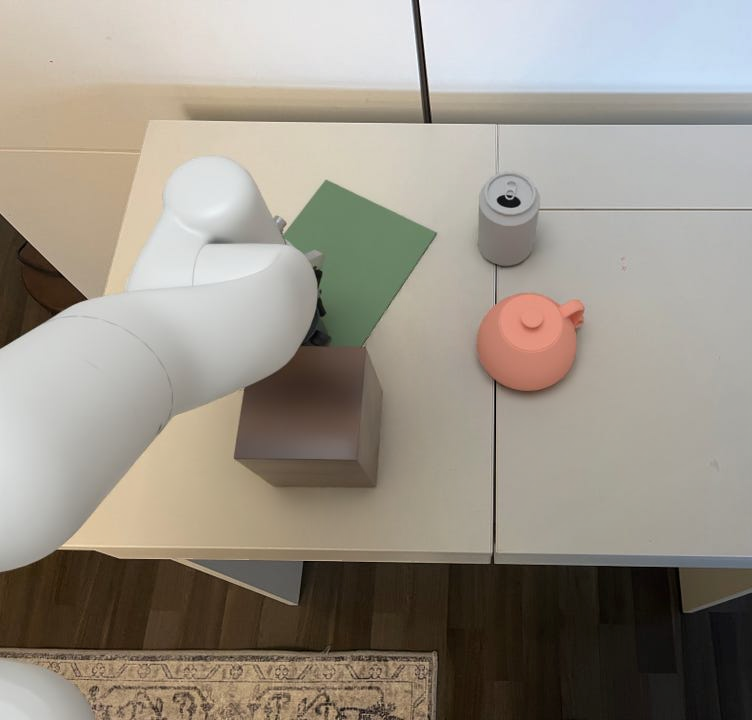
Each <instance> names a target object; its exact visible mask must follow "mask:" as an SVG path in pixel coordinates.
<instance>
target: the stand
mask: <svg viewBox="0 0 752 720" xmlns="http://www.w3.org/2000/svg"><path fill="white" fill-rule="evenodd" d="M383 395H384V392H383V389H382V385H381V383H380V380H379V378H378V375H377V372H376V369H375V367H374V364H373V362H372V359H371V356H370V354H369V351H368V348H367V347H366V346H362V347H328V346H299V348H298V350H297V351H296V353H295V355H294V356H293V357H292V358H291V359H290V361H289V362H288V363H287V364H286V365H284V366H283V367H282V368H281V369H279V370H278V371H276V372H274V373H273V374H271V375H269V376H267V377H265V378H264V379H262V380H260V381H258V382H255V383H253V384H251V385H249V386H246V387H244V388H243V394H242V401H241V405H240V406H241V407H240V412H239V413H240V414H239V418H238V419H239V420H238V427H237V432H236V440H235V446H234V453H233V459H234V461H236V462H237V463H239V464H240V465H241V466H243V467H245V468H246V469H247V470H249V471H251V472H252V473H254V474H255V475H256V476H257V477H259V478H261V480H263V481H264V482H266V483H267V484H269V485H271V486H272V487H275V488H276V487H279V488H348V489H349V488H353V489H354V488H357V489H361V488H363V489H364V488H365V489H372V488H373V489H376V488H377V481H378V466H379V453H380V439H381V438H380V437H381V423H382V407H383Z"/></svg>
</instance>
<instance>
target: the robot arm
mask: <svg viewBox="0 0 752 720" xmlns="http://www.w3.org/2000/svg"><path fill="white" fill-rule="evenodd" d="M161 197H162V198H161V200H162V210H161V212H160V214H159V216H158V218H157V221H156V223H155V224H154V227H153V228H152V231H151V233H150V234H149V236H148V238H147V240H146V242H145V244H144V245H143V246H142V249H141V250H140V252H139V253H138V256H137V258H136V260H135V262H134V264H133V266H132V268H131V271H130V273H129V275H128V276H127V279H126V282H125V285H124V292H118V293H113V294H107V295H103V296H98V297H93V298H90V299H85V300H83V301H80V302H77V303H75V304H73V305H71V306H69V307H67V308H66V309H64V310H62V311H60V312H59V313H57V314H56V315H54V316H53V317H50V318H49V319H48V320H46V321H45V322H43V323H41V324H40V325H38V326H36V327H35V328H33V329H31V330H30V331H28V332H26V333H25V334H23V335H21V336H20V337H17V338H16V339H14V340H13V341H12V342H10V343H8V344H7V345H5V346H3V347H1V348H0V573H2V572H3V573H4V572H7V571H13V570H16V569H19V568H22V567H26V566H29V565H30V564H33V563H35V562H38V561H40V560H42V559H44V558H46V557H47V556H50V555H51V554H52V553H54V552H55V551H56V550H58V549H59V548H61V547H63V546H64V544H66V543H67V542H68V541H69V540H70V539H72V538H73V537H74V535H75V534H76V533H78V531H80V529H81V528H82V527H83V526H84V525H85V523H86V522H87V521H88V520H89V519H90V518H91V516H92V515H93V514H94V512H95V511H96V510H97V509H98V508H99V507H100V505H101V504H102V503H103V502H104V501H105V499H106V498H107V497H108V496H109V495H110V493H111V492H112V491H113V489H115V488H116V486H117V485H119V483H120V481H122V479H123V478H124V477H125V476H126V475H127V473H128V472H130V469H131V468H132V467H133V465H134V464H135V463H136V462H137V461H138V460H139V458H140V457H141V456H142V455H143V454H144V453H145V451H147V449H148V448H149V447H150V446H151V444H152V443H153V442H154V441H155V439H157V437H158V436H159V435H161V433H162V431H164V429H165V428H166V426H167V425H168V424H170V421H171V420H173V418H174V417H175V416H176V417H177V416H178V415H181V414H185V413H187V412H190V411H193V410H196V409H197V408H198V409H199V408H201V407H203V406H205V405H209V404H211V403H213V402H216V401H218V400H220V399H222V398H224V397H226V396H229V395H231V394H233V393H235V392H237V391H240V390H242V389H244V387H246V386H249V385H251V384H253V383H255V382H258V381H260V380H262V379H264V378H265V377H267V376H269V375H271V374H273V373H274V372H276V371H278V370H279V369H281V368H282V367H283V366H284V365H286V364H287V363H288V362H289V361H290V359H291V358H292V357H293V356H294V355H295V353H296V351H297V350H298V348H299V346H300V345H301V343H302V341H303V340H304V338H305V336H306V334H307V332H308V330H309V328H310V326H311V323H312V320H313V317H314V314H315V310H316V306H317V308H318V310H319V315H320V317H323V316H325V314H326V311H325V309H324V307H323V305H322V300H321V298H320V296H321V294H322V289H320V288H319V285H320V281H321V278H322V274H323V272H322V271H321V268H322V266H323V261H324V257H325V255H324V254H323V253H321V252H319V251H317V250H312V251H310V252H308V253H306V254H303V253H302V252H301V251H299V250H298V249H296V248H295V247H294V246H293V245H292V244H291V243H290V242H289V241H287V240H286V239H285V238H284V237H283V234H284V229H285V228H286V226H287V225H288V223H287V221H286V220H285V219H284V218H282V217H281V216H279V215H274V216H273V215H272V213H271V211H270V209H269V207H268V204H267V202H266V201H265V199H264V197H263V194H262V193H261V190H260V189H259V186H258V185H257V182H256V181H255V179H254V177H253V176H252V174H251V173H250V172H249V171H248V169H246V168H245V166H244V165H242V164H241V163H239V162H238V161H236V160H234V159H232V158H229V157H226V156H223V155H222V156H221V155H213V154H212V155H209V154H207V155H202V156H197V157H194V158H191V159H189V160H186V161H185V162H183V163H182V164H180V165H179V166H178V167H176V168H175V169H174V170H173V171H172V173H170V175H169V176H168V178H167V180H166V181H165V184H164V187H163V190H162V196H161ZM0 720H96V716H95V714H94V711H93V708H92V707H91V704H90V703H89V701H88V699H87V698H86V696H85V695H84V693H83V692H82V691H81V690H80V689H79V688H78V687H77V686H76V685H75V684H73V683H72V682H71V681H70V680H68V679H67V678H66V677H64V676H62V675H61V674H59V673H58V672H56V671H53V670H52V669H49V668H47V667H44V666H42V665H39V664H36V663H33V662H29V661H25V660H18V659H15V658H8V657H0Z"/></svg>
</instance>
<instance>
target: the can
mask: <svg viewBox="0 0 752 720" xmlns="http://www.w3.org/2000/svg"><path fill="white" fill-rule="evenodd" d="M540 207H541V196H540V193H539V190H538V188H537V187H536V186H535V184H534V182H533V181H532V180H531V179H530V178H529V177H528V176H526V175H525V174H524V173H522V172H518V171H515V170H513V171H511V170H510V171H509V170H506V171H501V172H498V173H496V174H494V175H493V176H491V177H490V178H489V179H488V180H487V181H486V183H484V185H483V186H482V187H481V189H480V192H479V194H478V225H477V226H478V229H477V230H478V231H477V246H478V249H479V251H480V253H481V254H482V256H483V257H484V258H485V259H486V260H487V261H489V262H491V263H493V264H496V265H499V266H509V267H510V266H513V265H518V264H520V263H521V262H523V261H525V260H526V259H527V258H528V257H529V255H530V254H532V250H533V247H534V243H535V237H536V231H537V224H538V220H539V213H540Z"/></svg>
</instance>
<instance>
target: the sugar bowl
mask: <svg viewBox="0 0 752 720" xmlns="http://www.w3.org/2000/svg"><path fill="white" fill-rule="evenodd" d="M585 311H586V310H585V305H584V303H583V302H582V301H581V300H579V299H572V300H569V301H567V302H565V303H564V304H562V305H560V304H559V303H558V302H557V301H555V300H553V299H552V298H551V297H549V296H546V295H544V294H540V293H536V292H520V293H515V294H511V295H509V296H507V297H504V298H502V299H501V300H499V301H498V302H497V303H495V304H494V305H493V306H492V307H491V308H490V309H489V310H488V311H487V312H486V314H485V316H484V317H483V319H482V321H481V322H480V325H479V327H478V330H477V337H476V349H477V350H476V351H477V355H478V359H479V361H480V364H481V365H482V366H483V368H484V370H485V371H486V372H487V374H489V376H490V377H491V378H492V379H494V380H495V381H496V382H498V383H499V384H500V385H503V386H504V387H507V388H509V389H513V390H516V391H522V392H533V391H539V390H543V389H546V388H549V387H551V386H553V385H555V384H556V383H558V382H560V380H562V379H563V378H564V377H565V376H566V375H567V373H568V372H569V371H570V369H571V368H572V366H573V364H574V362H575V359H576V354H577V347H578V343H577V341H578V339H577V334H576V333H577V332H576V329H577V328H580V326H581V325H583V324H584V321H585V318H584V313H585Z"/></svg>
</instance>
